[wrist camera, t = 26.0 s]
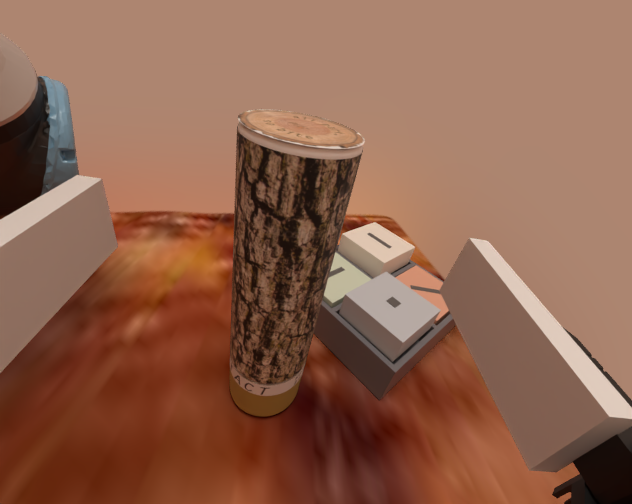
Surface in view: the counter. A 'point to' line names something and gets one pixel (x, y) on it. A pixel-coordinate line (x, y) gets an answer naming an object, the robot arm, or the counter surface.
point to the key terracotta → (426, 289)
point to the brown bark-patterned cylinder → (283, 246)
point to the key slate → (388, 314)
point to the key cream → (375, 249)
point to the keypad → (363, 354)
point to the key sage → (342, 280)
